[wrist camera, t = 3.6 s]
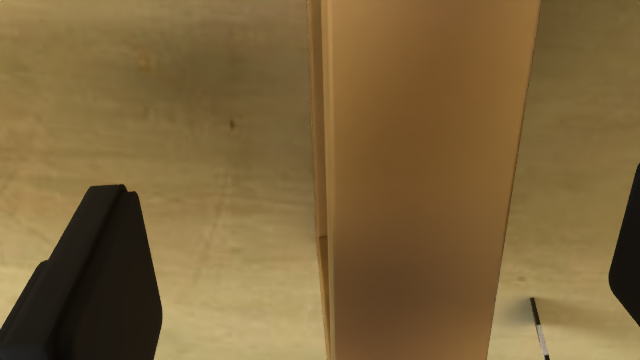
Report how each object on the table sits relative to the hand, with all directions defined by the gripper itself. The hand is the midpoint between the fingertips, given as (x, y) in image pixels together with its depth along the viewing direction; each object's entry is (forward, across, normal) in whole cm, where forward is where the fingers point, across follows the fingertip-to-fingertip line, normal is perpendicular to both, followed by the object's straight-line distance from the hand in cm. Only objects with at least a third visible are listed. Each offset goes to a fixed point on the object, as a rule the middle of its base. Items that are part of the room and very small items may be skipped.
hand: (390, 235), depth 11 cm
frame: (+8, 0, 0) cm, 8 cm away
